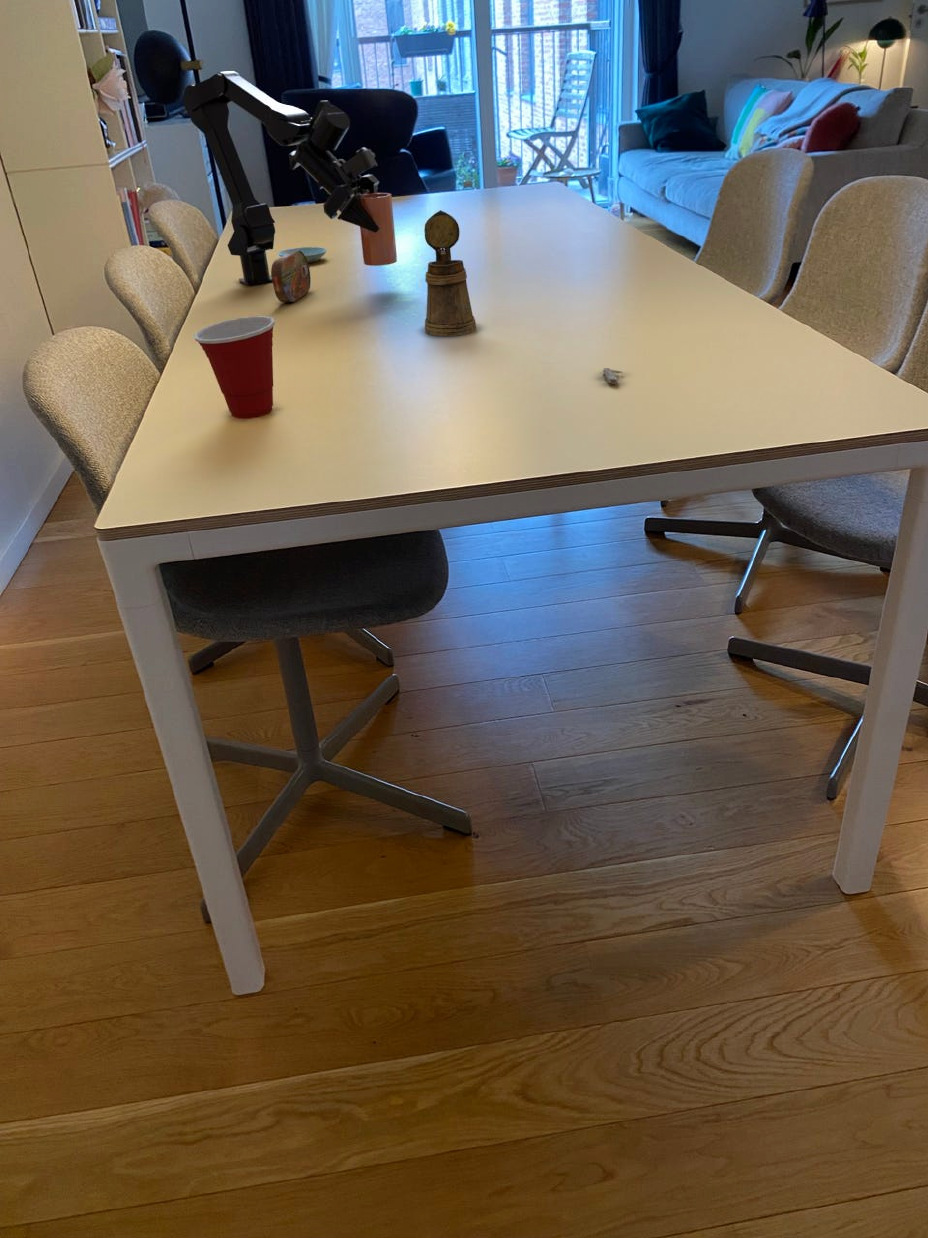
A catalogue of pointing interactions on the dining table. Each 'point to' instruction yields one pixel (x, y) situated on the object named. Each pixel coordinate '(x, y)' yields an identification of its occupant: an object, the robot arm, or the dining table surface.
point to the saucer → (307, 253)
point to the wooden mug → (446, 281)
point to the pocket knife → (610, 375)
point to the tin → (291, 276)
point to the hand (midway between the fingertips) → (383, 227)
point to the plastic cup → (242, 363)
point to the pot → (381, 243)
